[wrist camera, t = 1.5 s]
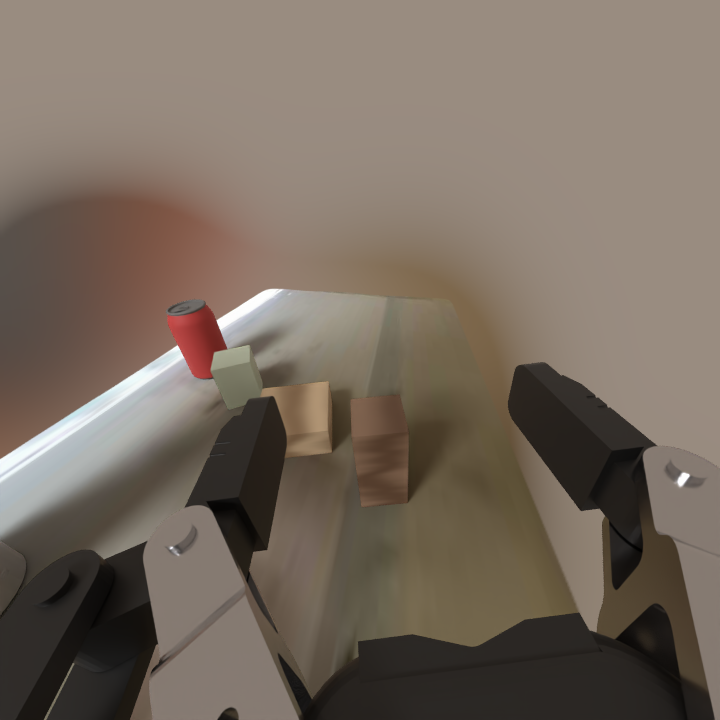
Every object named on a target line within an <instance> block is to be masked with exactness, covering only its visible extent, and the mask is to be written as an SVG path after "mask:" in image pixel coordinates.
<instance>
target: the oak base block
mask: <svg viewBox="0 0 720 720" xmlns="http://www.w3.org/2000/svg"><path fill="white" fill-rule="evenodd" d="M267 396H273V397H274V398H275V400H276V403H277V406H278V408H279V411H280V414H281V417H282V420H283V423H284V426H285V430H286V435H287V448H286V453H285V458H289V457H298V456H306V455H315V454H324V453H332V397H331V391H330V386H329V381H326V382H317V383H308V384H299V385H290V386H281V387H272V388H263V389H262V392H261V395H260V397H267Z"/></svg>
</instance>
